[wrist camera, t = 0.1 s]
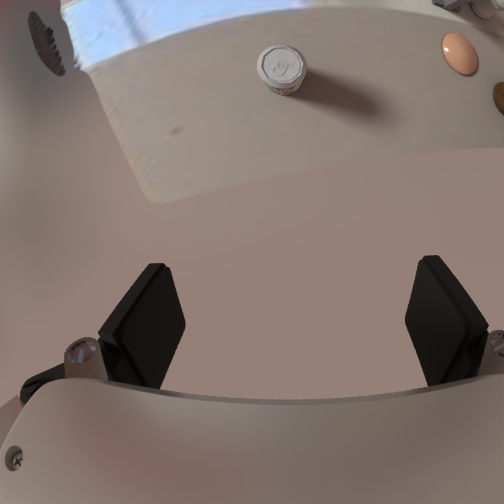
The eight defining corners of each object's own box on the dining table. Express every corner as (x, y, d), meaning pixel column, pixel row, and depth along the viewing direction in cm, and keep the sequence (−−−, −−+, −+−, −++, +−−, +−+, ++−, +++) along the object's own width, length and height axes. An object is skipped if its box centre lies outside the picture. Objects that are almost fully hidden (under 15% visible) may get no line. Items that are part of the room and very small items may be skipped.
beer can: (308, 73, 31) (316, 57, 21) (290, 101, 34) (292, 96, 23) (276, 56, 31) (271, 34, 20) (259, 84, 33) (246, 73, 23)
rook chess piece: (468, 10, 20) (494, 1, 13) (469, -7, 18) (493, -18, 11) (488, 24, 20) (515, 18, 13) (488, 7, 18) (514, -1, 11)
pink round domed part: (438, 28, 24) (440, 28, 23) (472, 40, 23) (474, 39, 22) (444, 69, 27) (446, 69, 26) (477, 78, 26) (479, 78, 25)
